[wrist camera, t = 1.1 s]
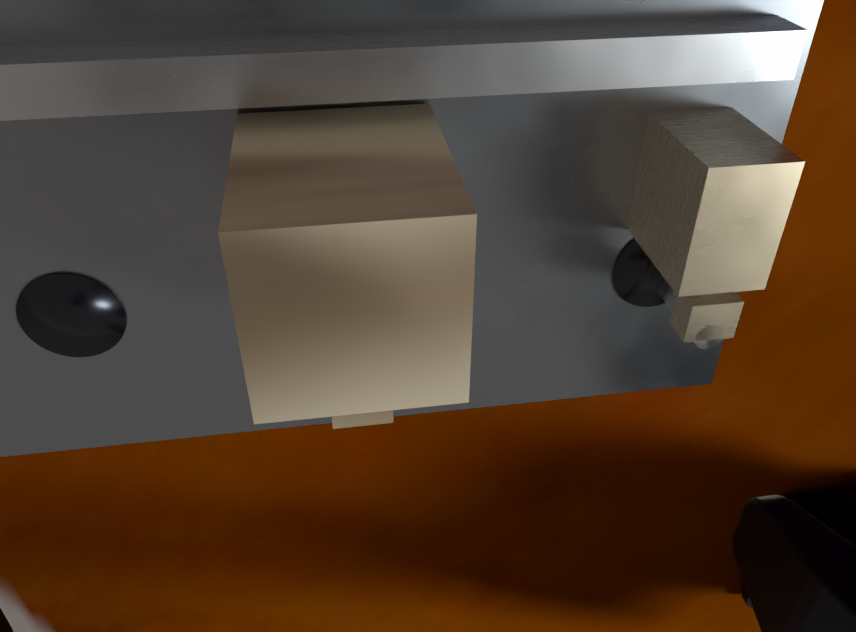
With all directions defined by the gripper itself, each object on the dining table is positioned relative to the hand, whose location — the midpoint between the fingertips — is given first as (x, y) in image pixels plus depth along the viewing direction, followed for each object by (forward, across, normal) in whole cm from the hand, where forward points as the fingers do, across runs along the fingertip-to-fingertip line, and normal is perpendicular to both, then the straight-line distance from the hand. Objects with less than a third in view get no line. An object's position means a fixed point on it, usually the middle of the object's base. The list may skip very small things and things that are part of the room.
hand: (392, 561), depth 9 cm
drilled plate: (+11, 0, 0) cm, 11 cm away
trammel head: (+10, 0, 0) cm, 10 cm away
